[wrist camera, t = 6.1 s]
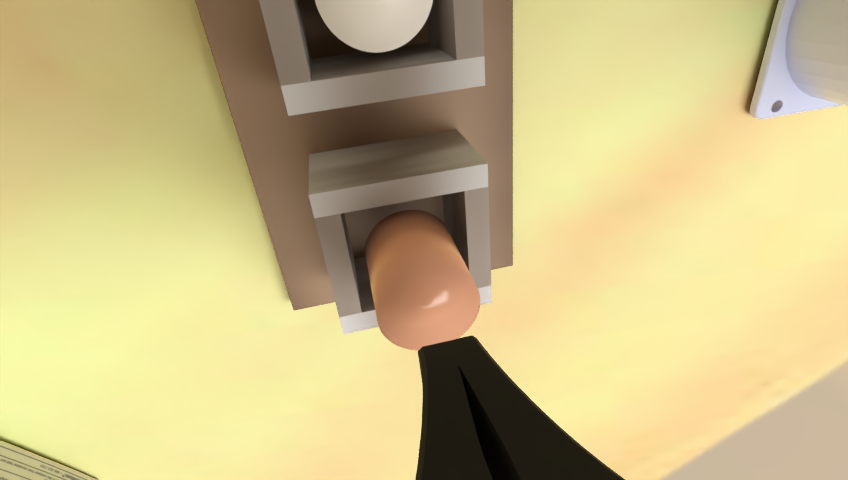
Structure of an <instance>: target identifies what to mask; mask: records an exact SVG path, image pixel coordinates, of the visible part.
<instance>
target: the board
mask: <svg viewBox="0 0 848 480" xmlns="http://www.w3.org/2000/svg"><path fill="white" fill-rule="evenodd" d="M195 1H196V4H197V7H198V10H199V13H200V16H201V20H202V23H203V26H204V29H205V32H206V35H207V38H208V42H209V45H210V48H211V51H212V54H213V57H214V61H215V64H216V67H217V70H218V73H219V76H220V79H221V83H222V86H223V89H224V92H225V95H226V98H227V101H228V105H229V108H230V111H231V114H232V117H233V120H234V124H235V127H236V130H237V133H238V136H239V139H240V142H241V146H242V149H243V152H244V155H245V158H246V161H247V165H248V168H249V171H250V174H251V177H252V180H253V183H254V187H255V190H256V193H257V196H258V199H259V202H260V205H261V209H262V212H263V215H264V218H265V221H266V224H267V228H268V231H269V234H270V237H271V240H272V243H273V246H274V250H275V253H276V256H277V259H278V262H279V265H280V269H281V272H282V275H283V278H284V281H285V284H286V287H287V291H288V294H289V297H290V300H291V303H292V306H293V309H294V310H298V309H303V308H308V307H313V306H318V305H323V304H328V303H332V302H336V306H337V310H338V314H339V317H340V321H341V325H342V329H343V333H344V334H347V333H352V332H356V331H361V330H366V329H370V328H375V327H379V325H378V322H377V317H376V311H375V306H374V301H373V295H372V290H371V284H370V279H369V273H368V268H367V263H366V257H365V246H366V241H367V238H368V236H369V234H370V232H371V231H372V229H373V228H374V227H375V226H376V225H377V224H378V223H379V222H380V221H381V220H382V219H384V218H385V217H387V216H389V215H391V214H393V213H396V212H399V211H404V210H421V211H425V212H428V213H430V214H432V215H434V216H436V217H437V218H439V219H440V220H441V221H442V222H443V223H444V225H445V226H446V228H447V230H448V232H449V233H450V235H451V237H452V239H453V241H454V243H455V245H456V247H457V249H458V251H459V253H460V255H461V257H462V259H463V261H464V262H465V264H466V266H467V268H468V270H469V272H470V274H471V276H472V278H473V280H474V282H475V284H476V286H477V288H478V290H479V294H480V305H482V304H487V303H491V302H492V293H491V270H493V269H498V268H502V267H507V266H512V265H513V0H433V3H432V7H431V10H430V13H429V16H428V18H427V20H426V22H425V24H424V25H423V27H422V28H421V30H420V31H419V32H418V33H417V35H416V36H414V37H413V38H412V39H411V40H410V41H409V42H407V43H406V44H405V45H403V46H401V47H399V48H397V49H394V50H391V51H387V52H379V53H373V52H365V51H361V50H358V49H355V48H353V47H351V46H349V45H347V44H346V43H344V42H343V41H341V40H340V39H339V38H338V37H336V36H335V35H334V34H333V33H332V31H331V30H330V29H329V28H328V27H327V25H326V24H325V22H324V21H323V19H322V17H321V15H320V13H319V11H318V9H317V6H316V3H315V0H195Z"/></svg>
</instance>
